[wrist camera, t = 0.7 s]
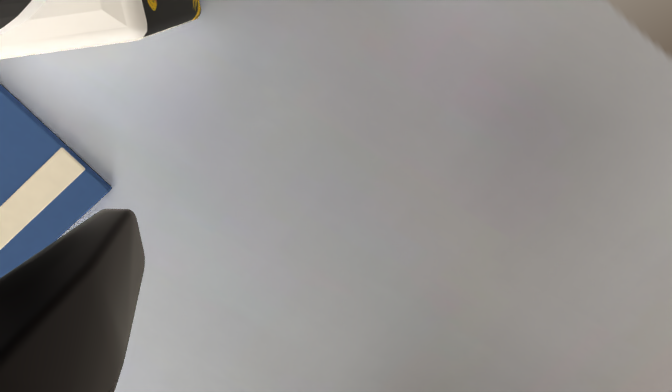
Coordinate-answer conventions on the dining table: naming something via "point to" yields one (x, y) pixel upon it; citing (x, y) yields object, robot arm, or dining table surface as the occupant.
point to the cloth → (38, 185)
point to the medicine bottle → (85, 23)
